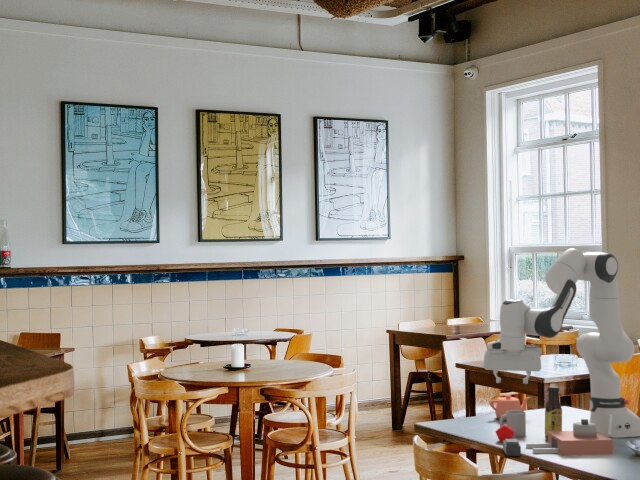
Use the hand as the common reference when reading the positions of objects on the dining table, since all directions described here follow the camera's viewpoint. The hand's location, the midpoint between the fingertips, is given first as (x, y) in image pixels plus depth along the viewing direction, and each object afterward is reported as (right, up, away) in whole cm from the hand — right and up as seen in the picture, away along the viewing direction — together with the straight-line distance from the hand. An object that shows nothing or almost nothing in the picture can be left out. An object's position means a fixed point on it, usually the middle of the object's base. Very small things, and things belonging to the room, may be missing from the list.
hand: (511, 383), depth 293 cm
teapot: (+13, -26, +58) cm, 65 cm away
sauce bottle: (+20, -24, +16) cm, 35 cm away
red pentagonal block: (+1, -25, +14) cm, 28 cm away
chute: (-1, -24, -4) cm, 24 cm away
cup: (+6, -25, +26) cm, 37 cm away
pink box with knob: (+20, -24, -1) cm, 31 cm away
